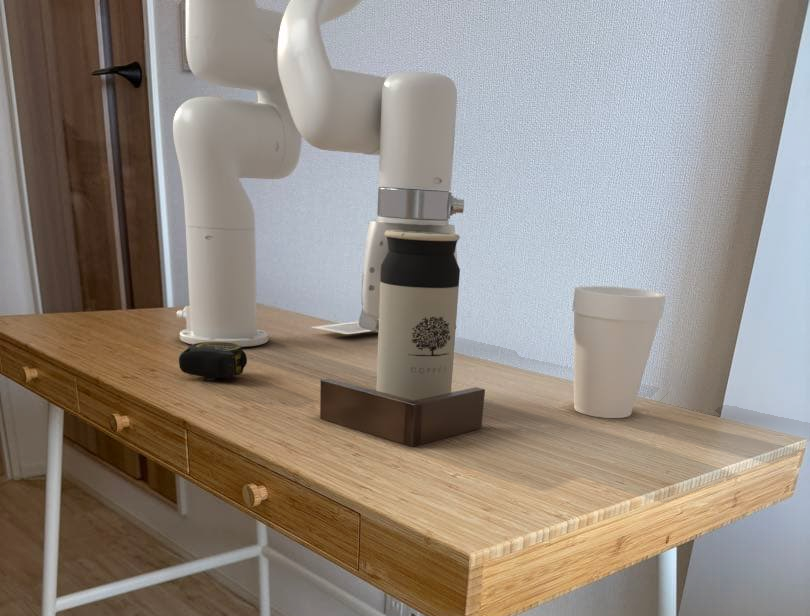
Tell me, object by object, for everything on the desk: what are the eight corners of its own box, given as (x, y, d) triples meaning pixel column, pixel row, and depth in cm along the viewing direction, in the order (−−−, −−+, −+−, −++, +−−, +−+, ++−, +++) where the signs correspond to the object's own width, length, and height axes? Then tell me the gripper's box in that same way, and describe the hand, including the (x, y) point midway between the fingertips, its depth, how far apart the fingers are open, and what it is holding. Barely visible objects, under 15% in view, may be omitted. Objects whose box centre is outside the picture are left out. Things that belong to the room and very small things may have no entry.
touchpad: (310, 334, 131) (310, 320, 130) (373, 326, 142) (374, 313, 141) (346, 341, 126) (347, 327, 126) (409, 332, 137) (409, 319, 136)
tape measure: (176, 380, 97) (174, 347, 95) (203, 369, 103) (201, 338, 102) (231, 386, 96) (230, 353, 94) (254, 374, 102) (254, 343, 100)
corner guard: (319, 418, 84) (320, 379, 83) (390, 403, 92) (392, 367, 90) (412, 447, 77) (414, 404, 75) (481, 428, 84) (485, 389, 82)
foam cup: (544, 402, 96) (558, 285, 91) (610, 398, 99) (627, 286, 94) (593, 424, 88) (611, 297, 83) (662, 419, 91) (684, 297, 86)
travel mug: (371, 401, 92) (377, 228, 85) (441, 401, 94) (453, 232, 86) (380, 420, 85) (388, 233, 78) (456, 420, 86) (470, 236, 79)
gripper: (479, 211, 90) (465, 379, 98) (341, 203, 89) (338, 373, 97) (490, 213, 84) (474, 393, 91) (341, 205, 82) (337, 388, 90)
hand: (404, 383), depth 94 cm, fingers closed
